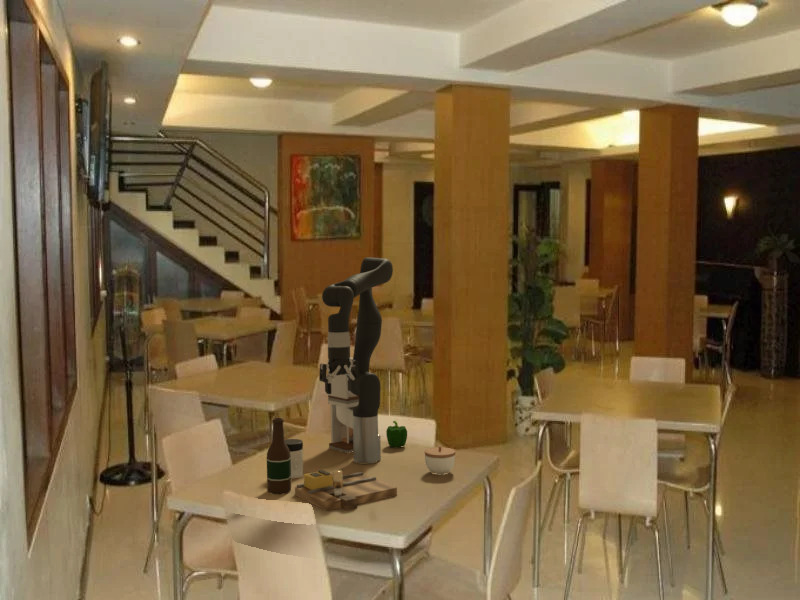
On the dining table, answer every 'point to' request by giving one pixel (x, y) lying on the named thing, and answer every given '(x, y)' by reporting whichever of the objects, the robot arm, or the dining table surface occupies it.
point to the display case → (342, 413)
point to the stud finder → (318, 479)
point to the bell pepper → (396, 435)
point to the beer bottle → (278, 461)
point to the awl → (337, 482)
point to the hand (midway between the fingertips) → (339, 392)
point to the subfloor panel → (347, 492)
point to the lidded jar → (440, 459)
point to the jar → (296, 457)
